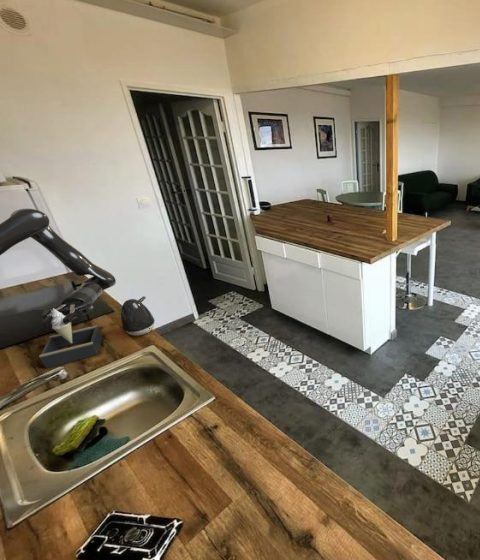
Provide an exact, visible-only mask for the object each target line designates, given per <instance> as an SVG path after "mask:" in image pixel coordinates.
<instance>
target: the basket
mask: <svg viewBox="0 0 480 560" xmlns="http://www.w3.org/2000/svg"><path fill="white" fill-rule="evenodd" d="M102 340H103V333H102V332H101V330H100V327H99V325H93V326H88V327H84V328H79V329H76V330H72V342H73V343H70V342H68V341H67V340H66V339H65V338H64V337H62V336H61V335H60V334H59V333H58V334H53V335H49V337H48V340H47V342H46V344H45V345H44V347H43V350H42V352H41V353H40V354H39V355H38V357H39V359H40V360H41V362H42V364H43V365H44V367H45V368H46V369H49V368H53V367H56V366H61V365H63V364H67V363H71V362H75V361H79V360H82V359H86V358H90V357H91V358H92V357H94V356H98V355H99V351H100V347H101V343H102ZM85 342H86V343H85ZM80 343H81V344H80ZM77 344H78V345H77ZM72 345H74V346H72ZM70 346H71V347H70ZM60 348H61V349H60Z"/></svg>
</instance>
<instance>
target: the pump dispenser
mask: <svg viewBox="0 0 480 560" xmlns="http://www.w3.org/2000/svg"><path fill="white" fill-rule="evenodd" d="M146 299H147V297H146V296H141V297H140V298H139V299H136V298H129V299H127V300H125V301H124V302H123V304H122V305H121V309H120V310H121V311H120V321H121V326H122V329H123V331H124V332H126V333H127V334H128V335H130V336H134V337H140V336H143V335H147V334H148V333H150V332H151V331H152V330H153V328H154V327H155V322H156V321H155V320H156V319H155V317H154V316H153V313H151V311H150V310H149V308H148V307H147V306H146V305H145V304H144V303H143V301H145V300H146ZM149 328H150V329H149Z"/></svg>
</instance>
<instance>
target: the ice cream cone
mask: <svg viewBox="0 0 480 560" xmlns="http://www.w3.org/2000/svg"><path fill="white" fill-rule="evenodd" d="M52 309H53V315H52V317H53V319H52V320H51V321H52V322H51V324H50V325H51V329H52V330H54V331H55V332H56V333H58V334H60V335H61V336H62V337H64V338H65V339H66V340H67V341H68V342H70V343H73V342H72V331H73V330H72V321H71V322H69V323H68V324H64V322H63V318H64V317H65V316H64V315H62V313H60V312H58V311H57V310H55V309H56V308H54V307H53V308H52Z"/></svg>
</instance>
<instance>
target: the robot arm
mask: <svg viewBox="0 0 480 560" xmlns="http://www.w3.org/2000/svg"><path fill="white" fill-rule="evenodd" d="M30 238H31V239H33V240H34V241H36V242H37V243H38V244H40V245H41V246H42V247H44V249H46V250H47V251H48V252H50V254H52V255H53V256H54V257H55V258H56V259H57V260H59V261H60V262H61V263H62V264H63V265H64V266H65V267H66V268H67V269H68V270H70V271H71V272H72V273H73V274H75V275H76V276H78V277H81V276H82V277H83V276H90V277H89V278H86V279H85V280H83V281H82V283H81V285H80V286H79V287H78V288H77V289H75V290H73V291H72V292H71V293H70V294H68V295H67V296H66V297H65V298H64V299H62V301H61V303H60V305H59V306H57V307H56V308H54V309H55V310H57V311H58V312H60V313H62V315H64V316H65V317H64V318H63V322H64V324H68V323H69V322H71V323H72V321H73V320H75V319H77V318H83V317H85V316H86V315H88V314H89V313H91V312H93V311H94V306H93V304H94V303H95V302H96V301H97V299H98V298H99V297H100V296H102V294H103V291H105V290H108V289H110V288H112V287H113V286H115V285H116V284H117V279H116V277H115V276H114V274H112V273H111V272H109V271H108V270H106V269H103V268H102V267H100V266H98V265H96V264H95V263H93V262H92V261H91V260H90V259H89V258H87V257H86V256H85V255H84V254H83V253H82V252H80V251H79V250H78V249H76V248H75V247H74V246H72V245H71V244H70V243H69V242H67V241H66V240H64V239H63V238H62V237H61V236H60V235H59V234H57V233H56V232H55V231H54V229H53V228H51V226H50V219H49V216H48V215H47V214H46V213H44V212H43V211H41V210H38V209H36V208H19V209H17V210H14V211H13V212H11V214H10V215H9V217H8V218H6V219H5V220H4V221H2V222H1V223H0V256H2V255H4V253H6V252H7V251H8V250H10V249H11V248H13V247H14V246H16V245H17V244H19V243H22V242H23V241H26V240H27V239H30ZM52 315H53V308H52V309H51V308H50V307H47V308H45V309H44V310H43V312H42V314H41V318H42V321H41V323H42V325H43V326H44V327H45V328H47V327H49V326H50V325H52V324H51V322H52V321H51V320H52V319H53V317H52Z"/></svg>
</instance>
